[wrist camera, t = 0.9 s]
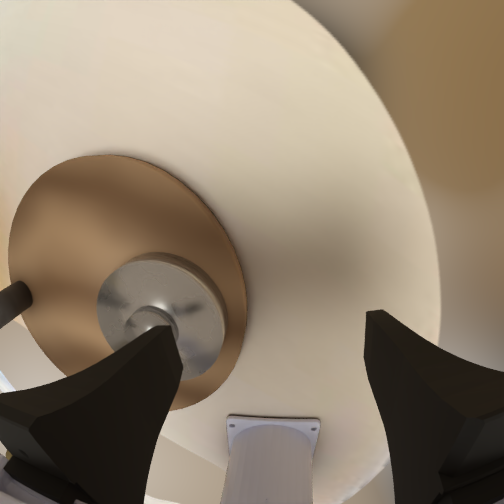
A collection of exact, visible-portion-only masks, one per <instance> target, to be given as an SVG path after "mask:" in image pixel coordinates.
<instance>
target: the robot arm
mask: <svg viewBox="0 0 504 504" xmlns="http://www.w3.org/2000/svg"><path fill="white" fill-rule="evenodd" d="M364 361H365V366H366V371H367V376H368V380H369V383H370V386H371V389H372V392H373V395H374V397H375V400H376V403H377V406H378V409H379V412H380V415H381V418H382V421H383V424H384V428H385V432H386V435H387V441H388V447H389V452H390V459H391V466H392V473H393V482H394V492H395V504H504V372H501V371H497V370H493V369H490V368H486V367H483V366H480V365H477V364H474V363H472V362H469V361H466V360H464V359H462V358H459V357H457V356H455V355H453V354H451V353H449V352H447V351H445V350H443V349H441V348H439V347H437V346H436V345H434V344H432V343H431V342H429V341H427V340H426V339H424V338H423V337H421V336H419V335H418V334H416V333H415V332H414V331H412V330H411V329H409V328H408V327H406V326H405V325H404V324H402V323H401V322H400V321H398V320H397V319H395V318H394V317H393V316H391V315H390V314H389V313H387V312H386V311H384V310H374V311H367V312H366V329H365V345H364ZM182 372H183V364H182V361H181V357H180V354H179V351H178V348H177V344H176V341H175V338H174V334H173V331H172V328H171V325H157V326H155V327H153V328H151V329H149V330H147V331H146V332H144V333H143V334H141V335H140V336H138V337H137V338H135V339H134V340H132V341H131V342H129V343H128V344H126V345H125V346H123V347H122V348H120V349H119V350H117V351H116V352H114V353H112V354H111V355H109V356H107V357H106V358H104V359H102V360H101V361H99V362H97V363H96V364H94V365H92V366H90V367H88V368H86V369H84V370H82V371H80V372H78V373H76V374H73V375H71V376H68V377H66V378H63V379H61V380H58V381H55V382H52V383H50V384H46V385H42V386H39V387H35V388H31V389H27V390H20V391H14V392H7V393H1V394H0V441H1V442H2V444H3V445H4V446H5V447H6V449H7V450H8V451H9V452H10V453H11V454H12V457H11V458H10V459H9V460H8V459H7V458H6V457H5V456H3V455H2V454H0V504H144V496H145V490H146V484H147V479H148V474H149V469H150V464H151V461H152V457H153V453H154V449H155V445H156V442H157V439H158V436H159V433H160V431H161V428H162V426H163V424H164V421H165V419H166V417H167V414H168V412H169V410H170V407H171V405H172V402H173V400H174V398H175V395H176V393H177V390H178V388H179V384H180V380H181V376H182ZM226 425H227V435H228V445H229V455H230V458H229V463H228V468H227V473H226V478H225V483H224V488H223V493H222V497H221V502H220V504H313V489H312V459H313V455H314V451H315V447H316V443H317V438H318V434H319V430H320V421H319V420H318V419H275V418H255V417H241V416H228V417H227V420H226ZM313 427H315V428H313Z"/></svg>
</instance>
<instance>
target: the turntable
mask: <svg viewBox="0 0 504 504" xmlns="http://www.w3.org/2000/svg"><path fill="white" fill-rule="evenodd" d="M149 252H165V253H171V254H175V255H178V256H181V257H183V258H185V259H187V260H189V261H191V262H193V263H194V264H196V265H197V266H199V267H200V268H201V269H202V270H204V271H205V272H206V273H207V274H208V275H209V276H210V277H211V278H212V279H213V281H214V282H215V283H216V285H217V286H218V288H219V290H220V291H221V293H222V295H223V298H224V300H225V303H226V307H227V311H228V327H227V332H226V335H225V338H224V341H223V344H222V347H221V350H220V353H219V356H218V358H217V360H216V361H215V363H214V364H213V365H212V367H211V368H210V369H208V370H207V371H206V372H205V373H203V374H202V375H200V376H198V377H195V378H193V379H189V380H184V381H180V384H179V388H178V390H177V393H176V395H175V398H174V400H173V402H172V405H171V407H170V410H169V411H172V410H177V409H182V408H185V407H188V406H191V405H194V404H196V403H198V402H200V401H202V400H203V399H205V398H207V397H208V396H210V395H211V394H212V393H213V392H215V391H216V390H217V389H218V388H219V387H220V386H221V385H222V384H223V383H224V382H225V380H226V379H227V378H228V376H229V375H230V373H231V371H232V370H233V368H234V366H235V364H236V362H237V359H238V357H239V354H240V351H241V347H242V342H243V338H244V333H245V329H246V323H247V297H246V287H245V283H244V279H243V274H242V270H241V267H240V264H239V261H238V259H237V256H236V253H235V251H234V248H233V247H232V245H231V243H230V241H229V239H228V237H227V235H226V233H225V231H224V230H223V228H222V227H221V225H220V224H219V222H218V221H217V219H216V218H215V217H214V215H213V214H212V212H211V211H210V210H209V209H208V208H207V207H206V205H205V204H204V203H203V202H202V201H201V200H200V199H199V198H198V197H197V195H195V194H194V193H193V192H192V191H191V190H190V189H188V188H187V187H186V186H185V185H184V184H183V183H181V182H180V181H179V180H177V179H176V178H174V177H173V176H171V175H170V174H168V173H166V172H165V171H163V170H161V169H159V168H157V167H155V166H153V165H151V164H148V163H146V162H144V161H140V160H137V159H133V158H130V157H124V156H116V155H98V156H83V157H78V158H74V159H70V160H67V161H65V162H62V163H60V164H58V165H56V166H54V167H52V168H51V169H49V170H48V171H47V172H45V173H44V174H42V175H41V176H40V177H39V178H38V179H37V180H36V181H35V182H34V183H33V184H32V185H31V187H30V188H29V189H28V191H27V192H26V194H25V195H24V197H23V198H22V200H21V202H20V204H19V206H18V208H17V211H16V214H15V216H14V219H13V222H12V227H11V232H10V237H9V247H8V264H9V273H10V280H11V285H10V286H8V287H7V288H5V289H3V290H2V291H0V329H1V328H2V327H3V326H4V325H6V324H7V323H9V322H10V321H11V320H13V319H14V318H15V317H17V316H18V315H19V314H21V315H22V318H23V320H24V322H25V324H26V326H27V328H28V330H29V331H30V333H31V335H32V336H33V338H34V339H35V341H36V342H37V344H38V345H39V347H40V348H41V349H42V350H43V352H44V353H45V355H46V356H47V357H48V358H49V359H50V360H51V361H52V362H53V363H54V365H55V366H56V367H57V368H58V369H59V370H60V371H62V372H63V373H64V374H65V375H66V376H67V377H68V376H71V375H73V374H76V373H78V372H80V371H82V370H84V369H86V368H88V367H90V366H92V365H94V364H96V363H97V362H99V361H101V360H102V359H104V358H106V357H107V356H109V355H111V354H112V353H114V351H113V349H112V348H111V347H110V345H109V344H108V342H107V341H106V339H105V337H104V335H103V333H102V331H101V328H100V325H99V322H98V317H97V307H96V306H97V298H98V293H99V291H100V288H101V286H102V284H103V283H104V281H105V280H106V279H107V277H108V276H109V275H110V274H112V273H113V272H114V271H115V270H117V269H118V268H119V267H121V266H122V265H123V264H125V263H126V262H128V261H129V260H130V259H132V258H134V257H136V256H138V255H141V254H144V253H149Z"/></svg>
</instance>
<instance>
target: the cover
mask: <svg viewBox="0 0 504 504" xmlns="http://www.w3.org/2000/svg"><path fill="white" fill-rule="evenodd" d="M96 307H97V317H98V322H99V325H100V328H101V331H102V333H103V335H104V337H105V339H106V341H107V342H108V344H109V345H110V347H111V348H112V349H113V351H114V352H116V351H117V350H119V349H120V348H122V347H123V346H125V345H126V344H128V343H129V342H131V341H132V340H134V339H135V338H137V337H138V336H140V335H141V334H143V333H144V332H146V331H147V330H149V329H151V328H153V327H155V326H157V325H171V328H172V331H173V334H174V338H175V341H176V344H177V348H178V351H179V354H180V357H181V361H182V364H183V372H182V376H181V380H180V381H184V380H189V379H193V378H195V377H198V376H200V375H202V374H203V373H205V372H206V371H207V370H208V369H210V368H211V367H212V365H213V364H214V363H215V361H216V360H217V358H218V356H219V353H220V350H221V347H222V344H223V341H224V338H225V335H226V332H227V327H228V311H227V307H226V303H225V300H224V298H223V295H222V293H221V291H220V290H219V288H218V286H217V285H216V283H215V282H214V281H213V279H212V278H211V277H210V276H209V275H208V274H207V273H206V272H205V271H204V270H202V269H201V268H200V267H199V266H197V265H196V264H194V263H193V262H191V261H189V260H187V259H185V258H183V257H181V256H178V255H175V254H171V253H165V252H149V253H144V254H141V255H138V256H136V257H134V258H132V259H130V260H129V261H128V262H126V263H125V264H123V265H122V266H121V267H119V268H118V269H117V270H115V271H114V272H113V273H112V274H110V275H109V276H108V277H107V279H106V280H105V281H104V283H103V284H102V286H101V288H100V291H99V293H98V298H97V306H96Z"/></svg>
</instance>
